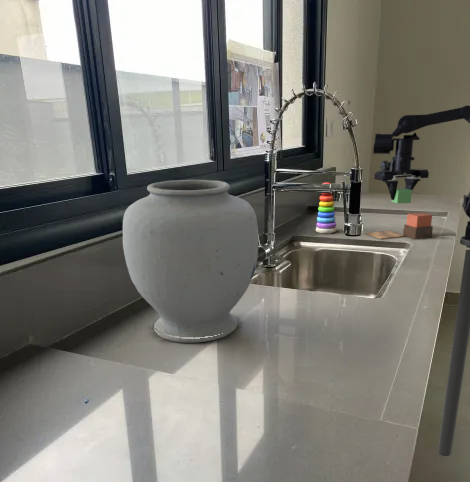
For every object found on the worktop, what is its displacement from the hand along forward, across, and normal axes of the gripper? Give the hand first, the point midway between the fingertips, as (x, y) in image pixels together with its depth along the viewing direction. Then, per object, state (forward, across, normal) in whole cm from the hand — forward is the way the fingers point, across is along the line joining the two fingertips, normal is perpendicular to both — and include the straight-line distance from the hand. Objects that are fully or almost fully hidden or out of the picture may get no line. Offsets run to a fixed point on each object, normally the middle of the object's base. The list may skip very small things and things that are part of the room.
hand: (399, 199), depth 178 cm
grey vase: (+14, +89, +59) cm, 108 cm away
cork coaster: (+13, +3, -2) cm, 14 cm away
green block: (+1, 0, +1) cm, 2 cm away
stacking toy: (+14, +20, -17) cm, 29 cm away
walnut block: (+13, -6, +4) cm, 15 cm away
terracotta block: (+9, -6, +4) cm, 12 cm away
